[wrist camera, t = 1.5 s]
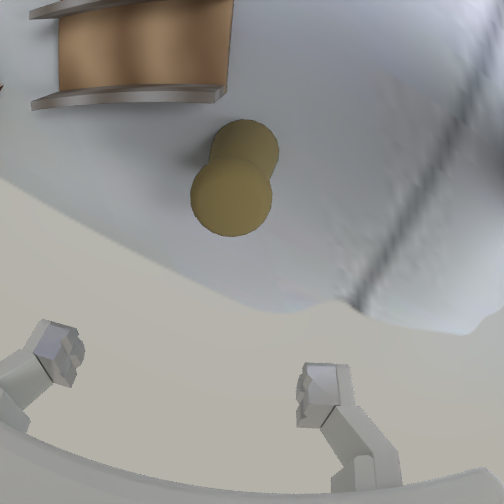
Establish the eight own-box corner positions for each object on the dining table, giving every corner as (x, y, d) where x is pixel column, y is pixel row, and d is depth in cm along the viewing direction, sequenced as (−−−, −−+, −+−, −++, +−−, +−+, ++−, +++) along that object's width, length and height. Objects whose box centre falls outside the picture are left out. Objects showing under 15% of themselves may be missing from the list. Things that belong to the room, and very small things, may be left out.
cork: (216, 184, 30) (188, 253, 21) (206, 122, 27) (168, 167, 18) (281, 180, 29) (281, 250, 20) (276, 117, 26) (275, 158, 17)
